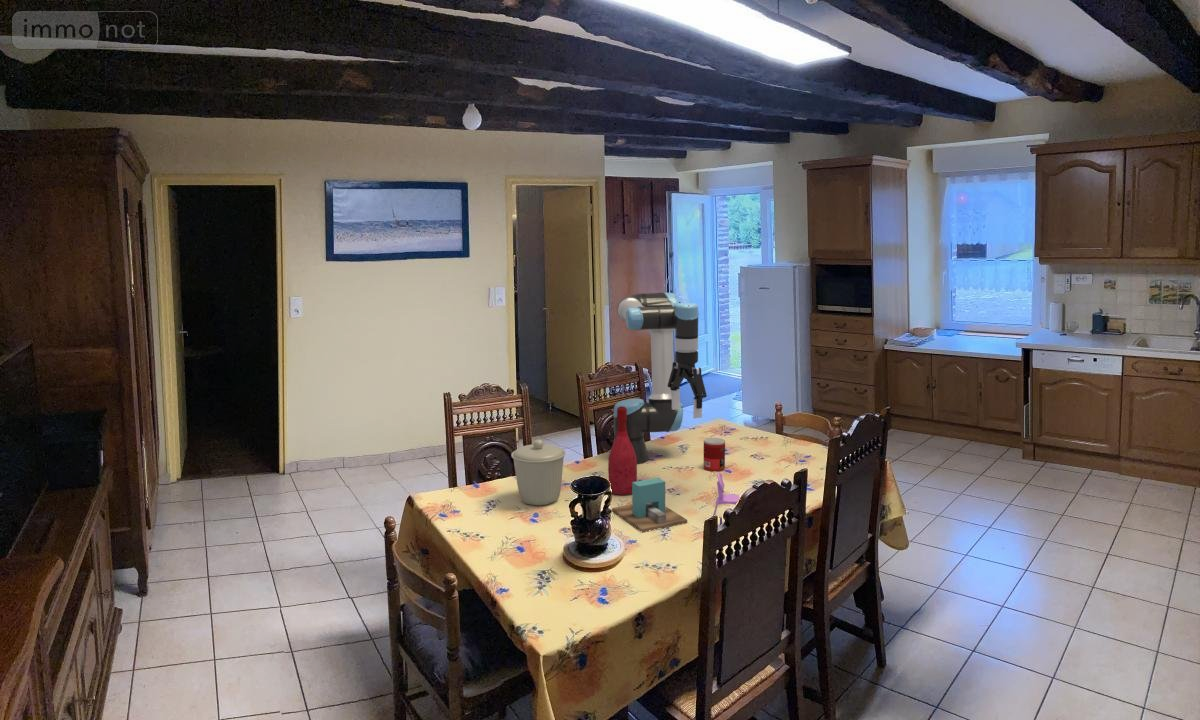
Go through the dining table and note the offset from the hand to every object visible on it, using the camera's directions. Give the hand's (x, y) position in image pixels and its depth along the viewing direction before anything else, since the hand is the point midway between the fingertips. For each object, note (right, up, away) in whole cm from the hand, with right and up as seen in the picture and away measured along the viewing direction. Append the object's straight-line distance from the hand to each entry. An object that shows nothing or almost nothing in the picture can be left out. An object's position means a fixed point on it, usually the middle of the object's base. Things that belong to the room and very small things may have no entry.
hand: (686, 413), depth 261 cm
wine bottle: (-21, -28, +10) cm, 36 cm away
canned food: (+14, -23, +33) cm, 43 cm away
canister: (-49, -30, +3) cm, 57 cm away
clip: (-13, -31, -13) cm, 36 cm away
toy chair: (+11, -32, -17) cm, 38 cm away
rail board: (-13, -32, -13) cm, 37 cm away
